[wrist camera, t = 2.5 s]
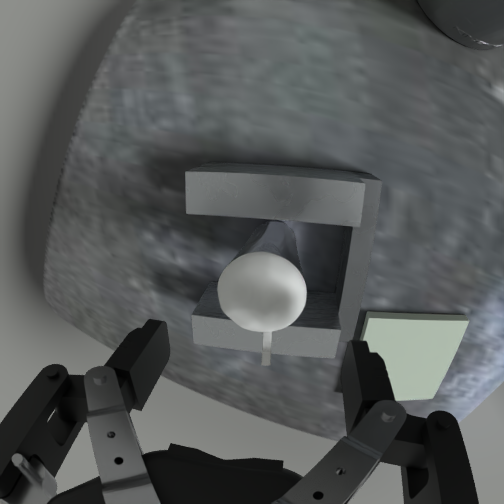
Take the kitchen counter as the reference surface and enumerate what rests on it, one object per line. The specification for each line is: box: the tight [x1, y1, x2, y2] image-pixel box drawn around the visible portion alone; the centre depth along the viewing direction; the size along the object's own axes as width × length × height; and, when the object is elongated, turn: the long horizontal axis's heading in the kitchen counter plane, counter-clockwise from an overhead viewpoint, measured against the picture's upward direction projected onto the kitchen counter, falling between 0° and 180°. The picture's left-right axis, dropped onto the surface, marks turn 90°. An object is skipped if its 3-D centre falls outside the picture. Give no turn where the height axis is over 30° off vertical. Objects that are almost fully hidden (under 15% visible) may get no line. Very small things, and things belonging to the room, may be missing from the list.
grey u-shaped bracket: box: [185, 162, 382, 358], centre depth 21 cm, size 12×12×5 cm
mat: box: [360, 311, 469, 401], centre depth 25 cm, size 10×10×1 cm
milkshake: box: [217, 220, 307, 366], centre depth 19 cm, size 4×5×10 cm
